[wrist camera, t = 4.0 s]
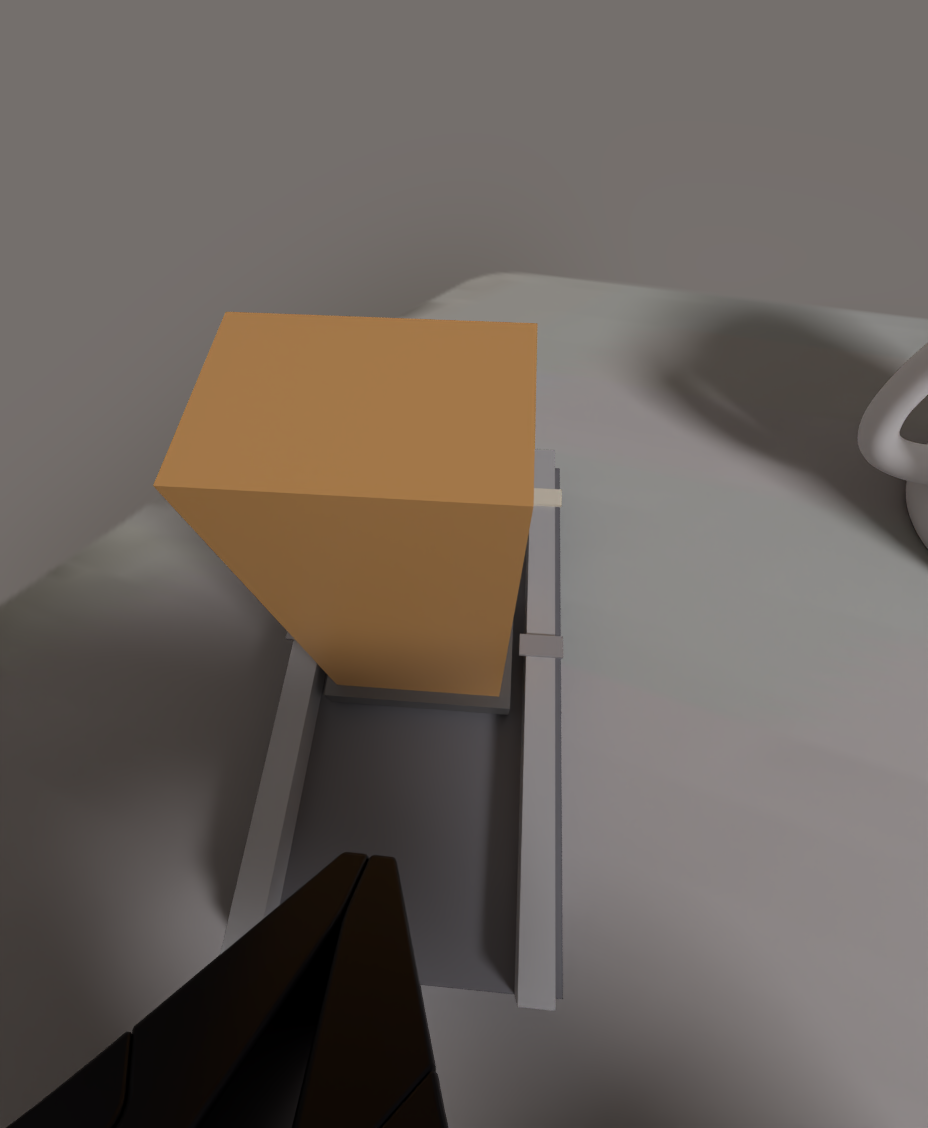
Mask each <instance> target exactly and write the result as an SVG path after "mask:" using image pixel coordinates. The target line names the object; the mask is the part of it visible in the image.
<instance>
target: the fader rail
mask: <svg viewBox="0 0 928 1128" xmlns="http://www.w3.org/2000/svg"><path fill="white" fill-rule="evenodd" d="M561 506H562V489H560V469H559V468H555V450H545V449H535V461H534V507H533V512H532V518H531V523H530V529H529V534H528V540H527V546H526V551H525V557H524V562H523V568H522V573H521V579H520V584H519V590H518V595H517V601H516V606H515V612H514V617H513V641H512V668H511V695H510V711H509V714H508V715H502V714H489V713H476V712H462V711H449V710H435V709H422V708H409V707H395V706H382V705H369V704H355V703H342V702H331V701H330V700H329V699H328V698H326V697H325V696H324V691H325V686H326V681H327V676H328V675H327V674H326V673H325V671H324V670H323V669H322V668H321V667H320V666H319V665H318V664H317V663H316V662H315V661H314V659H313V658H312V657H311V656H310V655H309V654H308V653H307V652H306V651H305V650H304V649H303V648H302V646H301V645H300V644H299V643H298V642H297V641H296V640H295V639H294V638H293V637H292V636H291V635H290V633H289V632H288V631H287V633H286V637H285V638H286V639H287V640H293V644H292V649H291V653H290V657H289V662H288V666H287V670H286V674H285V679H284V683H283V687H282V692H281V696H280V700H279V704H278V709H277V713H276V717H275V721H274V726H273V730H272V734H271V739H270V743H269V747H268V751H267V756H266V760H265V764H264V769H263V773H262V777H261V781H260V786H259V790H258V794H257V799H256V803H255V807H254V811H253V816H252V820H251V824H250V829H249V833H248V837H247V841H246V846H245V850H244V854H243V858H242V863H241V867H240V871H239V876H238V880H237V884H236V888H235V893H234V897H233V901H232V906H231V910H230V914H229V918H228V923H227V927H226V931H225V936H224V940H223V944H222V948H221V953H220V954H222V953H223V952H224V951H225V950H226V949H228V948H229V947H230V946H231V945H232V944H234V943H235V942H236V941H237V940H238V939H240V938H241V937H242V936H243V935H244V934H245V933H247V932H248V931H249V930H250V929H251V928H253V927H254V926H255V925H256V924H257V923H259V922H260V921H261V920H262V919H263V918H265V917H266V916H267V915H268V914H269V913H271V912H272V911H273V910H274V909H275V908H277V907H278V906H279V905H280V904H281V903H283V902H284V901H285V900H286V899H287V898H289V897H290V896H291V895H292V894H293V893H295V892H296V891H297V890H298V889H299V888H301V887H302V886H303V885H304V884H305V883H307V882H308V881H309V880H310V879H311V878H313V877H314V876H315V875H316V874H317V873H319V872H320V871H321V870H322V869H323V868H325V867H326V866H327V865H328V864H329V863H331V862H332V861H333V860H334V859H335V858H337V857H338V856H339V855H340V854H342V853H344V852H354V853H363V854H367V855H368V856H369V858H370V857H371V856H372V855H382V856H391V857H394V858H396V860H397V865H398V870H399V875H400V881H401V886H402V891H403V896H404V902H405V907H406V912H407V918H408V923H409V928H410V934H411V939H412V944H413V949H414V955H415V960H416V965H417V971H418V976H419V981H420V985H428V986H438V987H448V988H458V989H467V990H477V991H487V992H497V993H507V994H514V995H515V999H516V1003H517V1007H523V1008H532V1009H542V1010H552V1011H555V998H556V999H563V962H562V796H561V659H562V658H563V637H561V630H560V507H561Z"/></svg>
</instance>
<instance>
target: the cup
mask: <svg viewBox="0 0 928 1128" xmlns="http://www.w3.org/2000/svg"><path fill="white" fill-rule="evenodd" d="M927 395H928V343H927V344H926V345H924V346H923V347H922V348H921V349H920V350H919V351H918V352H916V353H915V354H914V355H913V356H912V357H911V358H910V359H909V360H908V361H907V362H906V363H905V364H904V365H903V366H902V367H901V368H900V369H899V370H898V371H897V372H896V373H895V374H894V375H893V376H892V377H891V378H890V379H889V380H888V381H887V382H886V384H885V385H884V386H883V387H882V388H881V389H880V391H879V392H878V393H877V394H876V396H875V397H874V398H873V400H872V401H871V402H870V404H869V406H868V407H867V409H866V410H865V412H864V415H863V417H862V419H861V422H860V425H859V429H858V438H857V441H858V446H859V449H860V451H861V453H862V455H863V456H864V458H865V459H866V460H867V461H868V463H870V464H871V465H872V466H874V467H875V468H877V469H878V470H880V471H882V472H884V473H886V474H888V475H891V476H893V477H896V478H899V479H903V480H906V481H907V482H906V504H907V509H908V513H909V516H910V519H911V521H912V524H913V526H914V528H915V530H916V532H917V534H918V535H919V537H920V539H921V540H922V542H923V543H924V545H925V546H926V547H927V549H928V443H927V444H920V443H915V442H911V441H908V440H905V439H904V438H902V437H901V436H900V429H901V426H902V424H903V422H904V421H905V419H906V418H907V416H908V415H909V413H910V412H911V411H912V410H913V409H914V408H915V407H916V406H917V405H918V404H919V403H920V401H921V400H923V399H924V398H925V397H926V396H927Z"/></svg>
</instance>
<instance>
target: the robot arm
mask: <svg viewBox="0 0 928 1128" xmlns="http://www.w3.org/2000/svg"><path fill="white" fill-rule="evenodd" d="M6 1128H448V1123H447V1119H446V1114H445V1110H444V1105H443V1099H442V1094H441V1089H440V1083H439V1078H438V1074H437V1073H436V1066H435V1060H434V1055H433V1050H432V1045H431V1039H430V1034H429V1029H428V1023H427V1018H426V1013H425V1008H424V1002H423V997H422V992H421V986H420V981H419V976H418V971H417V965H416V960H415V955H414V949H413V944H412V939H411V934H410V928H409V923H408V918H407V912H406V907H405V902H404V896H403V891H402V886H401V881H400V875H399V870H398V865H397V860H396V858H394V857H391V856H382V855H372V856H371V857H370V858H369V856H368V855H367V854H363V853H354V852H344V853H342V854H340V855H339V856H338V857H337V858H335V859H334V860H333V861H332V862H331V863H329V864H328V865H327V866H326V867H325V868H323V869H322V870H321V871H320V872H319V873H317V874H316V875H315V876H314V877H313V878H311V879H310V880H309V881H308V882H307V883H305V884H304V885H303V886H302V887H301V888H299V889H298V890H297V891H296V892H295V893H293V894H292V895H291V896H290V897H289V898H287V899H286V900H285V901H284V902H283V903H281V904H280V905H279V906H278V907H277V908H275V909H274V910H273V911H272V912H271V913H269V914H268V915H267V916H266V917H265V918H263V919H262V920H261V921H260V922H259V923H257V924H256V925H255V926H254V927H253V928H251V929H250V930H249V931H248V932H247V933H245V934H244V935H243V936H242V937H241V938H240V939H238V940H237V941H236V942H235V943H234V944H232V945H231V946H230V947H229V948H228V949H226V950H225V951H224V952H223V953H222V954H220V955H219V956H218V957H217V958H216V959H214V960H213V961H212V962H211V963H210V964H208V965H207V966H206V967H205V968H204V969H202V970H201V971H200V972H199V973H198V974H196V975H195V976H194V977H193V978H192V979H190V980H189V981H188V982H187V983H186V984H184V985H183V986H182V987H181V988H180V989H178V990H177V991H176V992H175V993H174V994H172V995H171V996H170V997H169V998H168V999H166V1000H165V1001H164V1002H163V1003H162V1004H160V1005H159V1006H158V1007H157V1008H156V1009H154V1010H153V1011H152V1012H151V1013H150V1014H148V1015H147V1016H146V1017H145V1018H144V1019H143V1020H141V1021H140V1022H139V1023H138V1024H137V1025H135V1026H134V1028H133V1030H132V1034H131V1032H126V1033H124V1034H123V1035H122V1036H121V1037H119V1038H118V1039H117V1040H116V1041H115V1042H113V1043H112V1044H111V1045H110V1046H109V1047H107V1048H106V1049H105V1050H104V1051H103V1052H101V1053H100V1054H99V1055H98V1056H97V1057H95V1058H94V1059H93V1060H92V1061H90V1062H89V1063H88V1064H87V1065H85V1066H84V1067H83V1068H82V1069H80V1070H79V1071H78V1072H77V1073H76V1074H74V1075H73V1076H72V1077H71V1078H69V1079H68V1080H67V1081H66V1082H64V1083H63V1084H62V1085H61V1086H59V1087H58V1088H57V1089H56V1090H54V1091H53V1092H52V1093H51V1094H49V1095H48V1096H47V1097H46V1098H44V1099H43V1100H42V1101H41V1102H39V1103H38V1104H37V1105H36V1106H34V1107H33V1108H32V1109H30V1110H29V1111H28V1112H26V1113H25V1114H24V1115H22V1116H21V1117H20V1118H18V1119H17V1120H16V1121H14V1122H13V1123H12V1124H10V1125H9V1126H8V1127H6Z"/></svg>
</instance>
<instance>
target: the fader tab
mask: <svg viewBox="0 0 928 1128" xmlns="http://www.w3.org/2000/svg"><path fill="white" fill-rule="evenodd" d="M536 364H537V323H511V322H484V321H458V320H431V319H404V318H378V317H375V318H374V317H351V316H324V315H297V314H270V313H245V312H225V315H224V317H223V320H222V322H221V325H220V327H219V329H218V332H217V334H216V336H215V339H214V341H213V344H212V346H211V348H210V351H209V353H208V356H207V358H206V361H205V363H204V365H203V368H202V370H201V372H200V375H199V377H198V379H197V382H196V385H195V387H194V389H193V391H192V394H191V396H190V399H189V401H188V404H187V406H186V408H185V411H184V413H183V415H182V418H181V420H180V423H179V425H178V427H177V430H176V432H175V435H174V437H173V440H172V442H171V444H170V447H169V449H168V452H167V454H166V456H165V459H164V461H163V463H162V466H161V468H160V471H159V473H158V475H157V478H156V480H155V482H154V485H153V486H154V487H155V488H156V489H157V490H158V491H159V493H160V494H161V495H162V496H163V497H164V498H165V499H166V500H167V501H168V502H169V503H170V504H171V506H172V507H173V508H174V509H175V510H176V511H177V512H178V513H179V514H180V515H181V516H182V517H183V519H184V520H185V521H186V522H187V523H188V524H189V525H190V526H191V527H192V528H193V529H194V530H195V532H196V533H197V534H198V535H199V536H200V537H201V538H202V539H203V540H204V541H205V542H206V543H207V545H208V546H209V547H210V548H211V549H212V550H213V551H214V552H215V553H216V554H217V555H218V556H219V558H220V559H221V560H222V561H223V562H224V563H225V564H226V565H227V566H228V567H229V568H230V569H231V571H232V572H233V573H234V574H235V575H236V576H237V577H238V578H239V579H240V580H241V581H242V583H243V584H244V585H245V586H246V587H247V588H248V589H249V590H250V591H251V592H252V593H253V594H254V596H255V597H256V598H257V599H258V600H259V601H260V602H261V603H262V604H263V605H264V606H265V607H266V609H267V610H268V611H269V612H270V613H271V614H272V615H273V616H274V617H275V618H276V619H277V620H278V622H279V623H280V624H281V625H282V626H283V627H284V628H285V629H286V630H287V631H288V632H289V633H290V635H291V636H292V637H293V638H294V639H295V640H296V641H297V642H298V643H299V644H300V645H301V646H302V648H303V649H304V650H305V651H306V652H307V653H308V654H309V655H310V656H311V657H312V658H313V659H314V661H315V662H316V663H317V664H318V665H319V666H320V667H321V668H322V669H323V670H324V671H325V673H326V674H327V675H328V676H327V681H326V686H325V691H324V696H325V697H326V698H328V699H329V700H330V701H331V702H342V703H355V704H369V705H382V706H395V707H409V708H422V709H435V710H449V711H462V712H476V713H489V714H502V715H508V714H509V711H510V695H511V668H512V641H513V617H514V612H515V606H516V601H517V595H518V590H519V584H520V579H521V573H522V568H523V562H524V557H525V551H526V546H527V540H528V534H529V529H530V523H531V518H532V512H533V507H534V461H535V413H536Z"/></svg>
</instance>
